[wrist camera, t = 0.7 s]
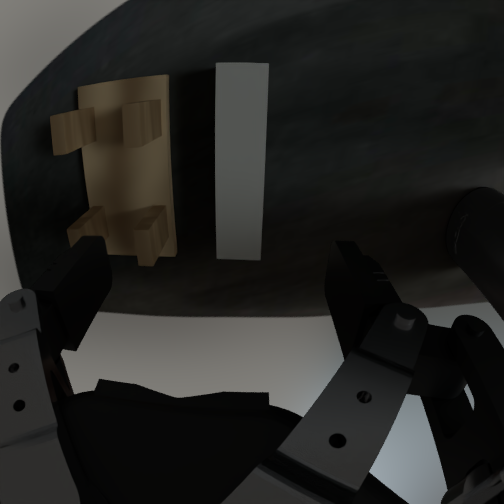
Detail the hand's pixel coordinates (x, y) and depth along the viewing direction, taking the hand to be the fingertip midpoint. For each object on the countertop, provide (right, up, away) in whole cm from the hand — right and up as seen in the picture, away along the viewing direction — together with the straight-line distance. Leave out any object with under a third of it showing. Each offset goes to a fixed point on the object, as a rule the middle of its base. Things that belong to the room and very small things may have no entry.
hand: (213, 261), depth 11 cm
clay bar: (+1, +8, +15) cm, 17 cm away
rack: (-9, +7, +15) cm, 19 cm away
